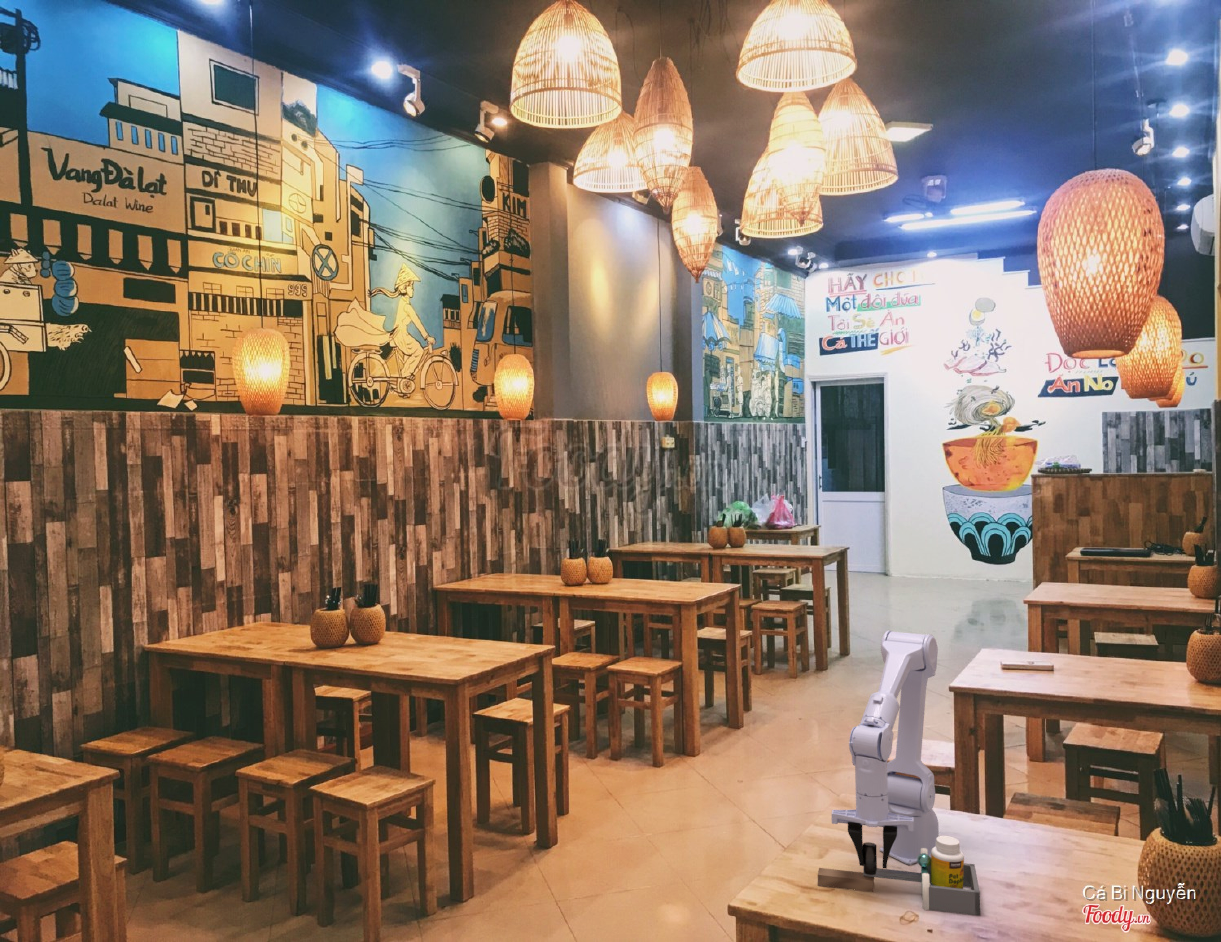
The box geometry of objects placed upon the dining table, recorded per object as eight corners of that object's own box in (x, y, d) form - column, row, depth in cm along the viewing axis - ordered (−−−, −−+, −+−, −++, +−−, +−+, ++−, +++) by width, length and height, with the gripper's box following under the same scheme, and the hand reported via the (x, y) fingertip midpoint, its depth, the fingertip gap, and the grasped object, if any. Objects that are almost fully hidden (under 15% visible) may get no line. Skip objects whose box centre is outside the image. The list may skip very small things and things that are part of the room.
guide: (817, 886, 169) (817, 874, 169) (819, 878, 172) (819, 867, 172) (873, 892, 166) (873, 880, 166) (874, 885, 169) (873, 873, 169)
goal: (922, 909, 159) (922, 875, 159) (921, 879, 171) (920, 847, 171) (980, 916, 157) (979, 881, 157) (974, 885, 168) (974, 853, 168)
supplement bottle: (949, 906, 160) (950, 849, 160) (923, 893, 165) (924, 837, 165) (970, 899, 163) (970, 842, 163) (944, 886, 168) (945, 831, 168)
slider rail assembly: (863, 893, 165) (862, 852, 165) (864, 876, 172) (863, 836, 172) (932, 901, 161) (931, 859, 161) (931, 883, 168) (930, 843, 168)
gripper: (829, 795, 166) (831, 869, 166) (913, 802, 162) (915, 878, 162) (832, 782, 173) (833, 853, 173) (912, 789, 168) (914, 862, 168)
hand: (873, 864), depth 168 cm, fingers open, 3 cm apart
